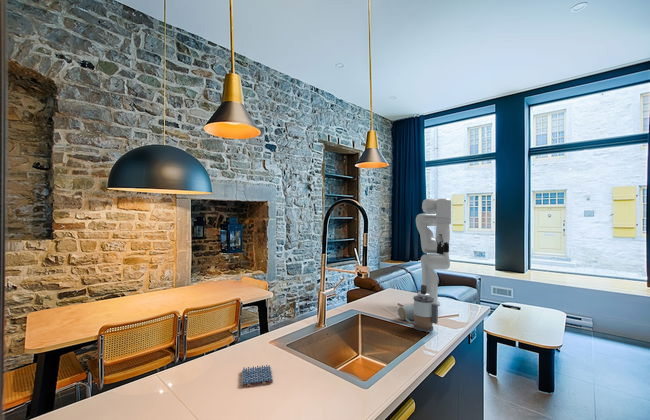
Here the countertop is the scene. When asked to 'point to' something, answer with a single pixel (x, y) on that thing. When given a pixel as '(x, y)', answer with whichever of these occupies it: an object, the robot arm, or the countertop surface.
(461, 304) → the countertop surface
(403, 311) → the ceramic mug
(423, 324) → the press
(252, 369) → the blue-grey spiked square pad
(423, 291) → the plunger
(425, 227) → the robot arm
